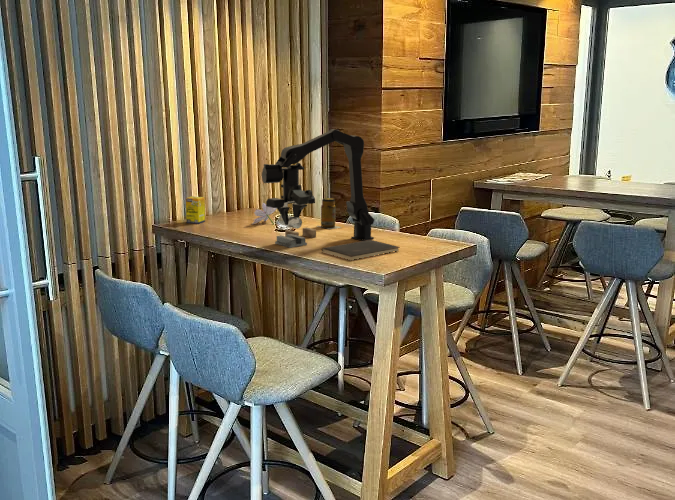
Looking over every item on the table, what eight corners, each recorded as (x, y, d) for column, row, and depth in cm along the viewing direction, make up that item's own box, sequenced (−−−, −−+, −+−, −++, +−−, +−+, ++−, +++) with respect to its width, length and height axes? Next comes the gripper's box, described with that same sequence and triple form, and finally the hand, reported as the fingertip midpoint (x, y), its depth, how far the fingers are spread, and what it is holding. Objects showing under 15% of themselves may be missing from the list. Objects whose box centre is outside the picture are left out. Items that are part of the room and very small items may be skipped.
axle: (302, 227, 250) (301, 216, 249) (293, 229, 247) (293, 218, 246) (287, 224, 257) (287, 213, 256) (278, 225, 254) (278, 215, 253)
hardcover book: (399, 253, 244) (399, 246, 243) (351, 262, 229) (351, 255, 228) (369, 245, 255) (369, 239, 255) (321, 253, 241) (321, 247, 240)
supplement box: (186, 223, 291) (185, 198, 289) (193, 220, 297) (192, 196, 294) (198, 224, 290) (197, 198, 287) (205, 221, 295) (204, 196, 293)
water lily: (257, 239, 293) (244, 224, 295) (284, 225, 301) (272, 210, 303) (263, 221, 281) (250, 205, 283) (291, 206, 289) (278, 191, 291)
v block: (306, 244, 252) (306, 237, 252) (289, 247, 247) (289, 240, 246) (292, 240, 259) (292, 233, 258) (275, 243, 254) (275, 236, 253)
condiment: (329, 224, 292) (329, 197, 289) (342, 227, 286) (342, 199, 283) (316, 226, 288) (316, 198, 285) (328, 229, 281) (328, 201, 278)
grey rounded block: (315, 237, 266) (316, 229, 265) (294, 240, 259) (294, 233, 258) (306, 234, 270) (306, 227, 269) (285, 238, 263) (285, 230, 263)
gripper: (283, 186, 236) (283, 230, 239) (324, 182, 248) (324, 224, 251) (264, 183, 244) (265, 225, 248) (305, 179, 256) (305, 220, 260)
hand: (291, 224), depth 251 cm, fingers closed on axle, 4 cm apart
